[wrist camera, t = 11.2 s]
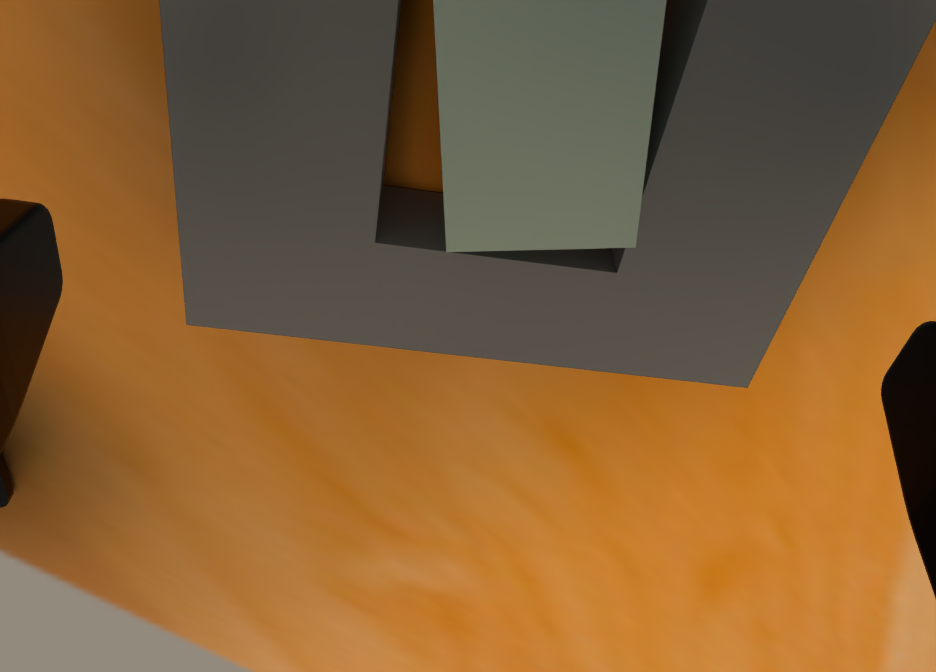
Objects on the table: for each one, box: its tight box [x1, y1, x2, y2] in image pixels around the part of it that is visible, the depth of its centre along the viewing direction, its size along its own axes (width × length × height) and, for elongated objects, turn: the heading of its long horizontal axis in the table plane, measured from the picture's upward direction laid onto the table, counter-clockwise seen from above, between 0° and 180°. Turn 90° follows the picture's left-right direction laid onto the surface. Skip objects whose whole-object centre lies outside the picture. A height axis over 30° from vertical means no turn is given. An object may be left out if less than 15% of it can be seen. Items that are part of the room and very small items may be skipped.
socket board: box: [159, 0, 936, 388], centre depth 16 cm, size 16×14×3 cm
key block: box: [433, 0, 667, 252], centre depth 16 cm, size 4×8×4 cm, turn 2°
